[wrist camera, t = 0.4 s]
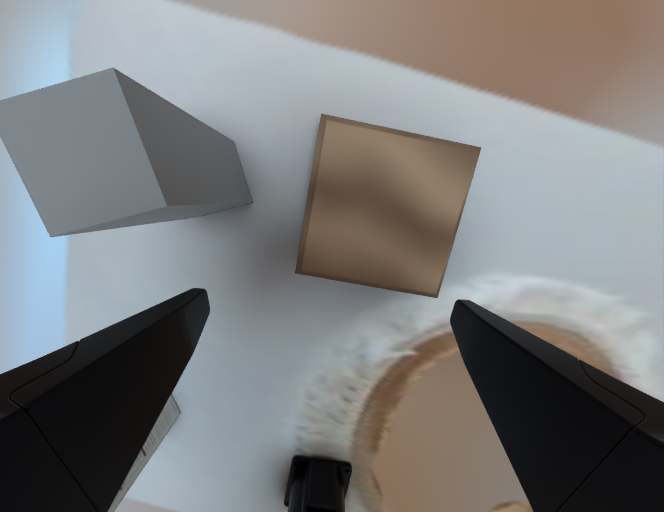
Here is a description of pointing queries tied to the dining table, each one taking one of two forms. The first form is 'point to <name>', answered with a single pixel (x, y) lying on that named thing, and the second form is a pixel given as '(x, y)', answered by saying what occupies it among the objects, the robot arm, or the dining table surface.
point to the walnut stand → (383, 206)
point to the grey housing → (117, 156)
